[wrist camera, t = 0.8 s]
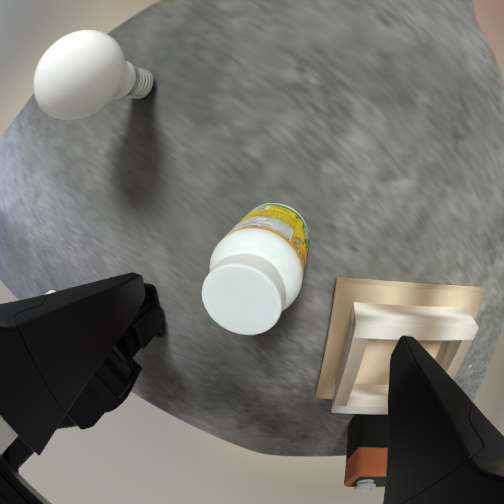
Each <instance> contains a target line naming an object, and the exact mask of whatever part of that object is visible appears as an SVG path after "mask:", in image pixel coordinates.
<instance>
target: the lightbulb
mask: <svg viewBox="0 0 504 504" xmlns="http://www.w3.org/2000/svg"><path fill="white" fill-rule="evenodd" d="M152 86H153V76H152V74H151V72H150V71H148V70H145V69H141V68H138V67H134V66H133V65H132V64H131V63H130V62H128V61H127V60H125V57H124V54H123V52H122V49H121V48H120V46H119V44H118V43H117V42H116V41H115V40H114V39H113V38H112V37H111V36H109V35H107V34H105V33H103V32H100V31H96V30H81V31H76V32H73V33H70V34H68V35H65V36H64V37H62V38H60V39H59V40H57V41H56V42H55V43H54V44H52V45H51V46H50V47H49V48H48V49H47V51H46V52H45V53H44V55H43V56H42V57H41V59H40V61H39V63H38V65H37V67H36V70H35V74H34V79H33V91H34V96H35V99H36V101H37V103H38V105H39V106H40V108H41V109H42V110H43V111H44V112H45V113H46V114H47V115H49V116H51V117H53V118H55V119H58V120H62V121H77V120H81V119H85V118H88V117H90V116H92V115H94V114H96V113H97V112H99V111H100V110H102V109H103V108H104V107H106V106H107V105H108V104H109V103H110V102H111V101H113V100H118V99H120V98H122V97H125V98H134V99H140V98H143V97H145V96H146V95H147V94H148V93H149V92H150V90H151V89H152Z"/></svg>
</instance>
